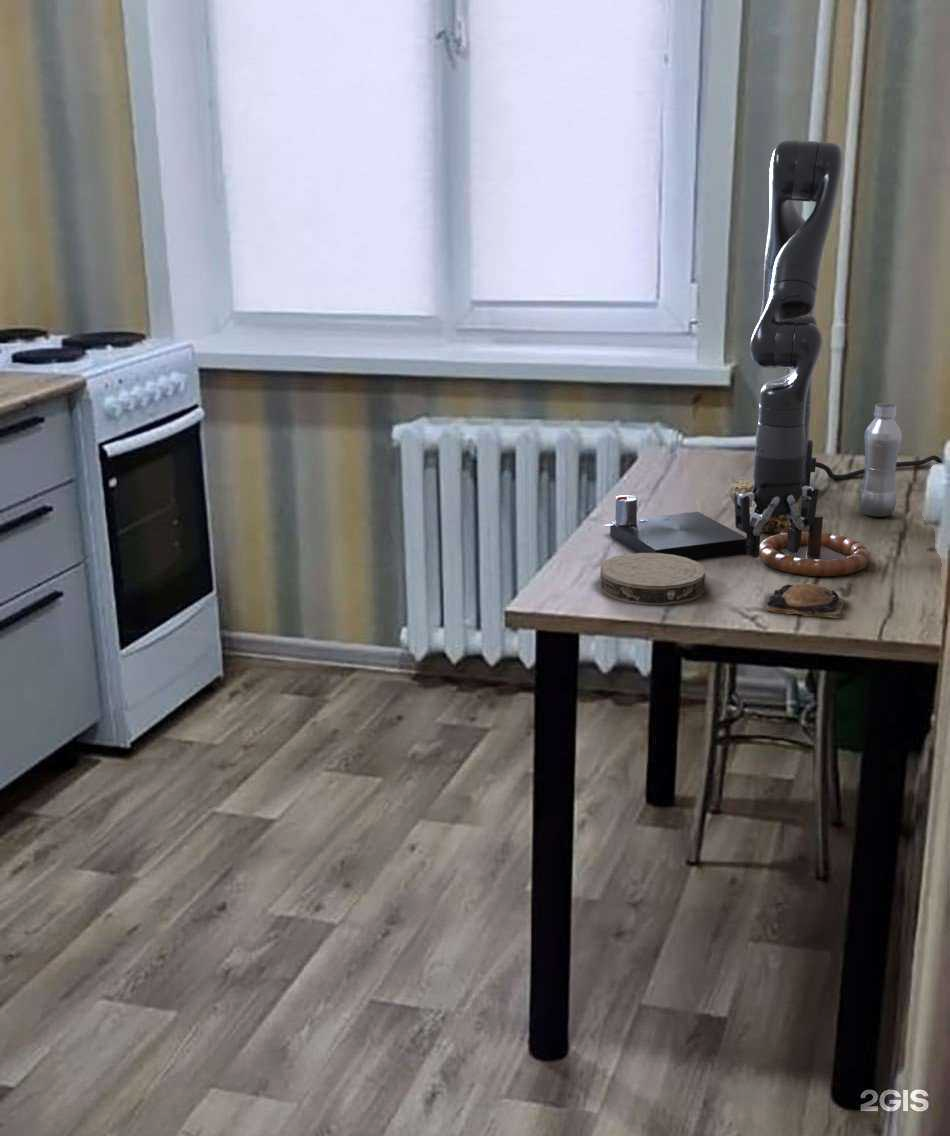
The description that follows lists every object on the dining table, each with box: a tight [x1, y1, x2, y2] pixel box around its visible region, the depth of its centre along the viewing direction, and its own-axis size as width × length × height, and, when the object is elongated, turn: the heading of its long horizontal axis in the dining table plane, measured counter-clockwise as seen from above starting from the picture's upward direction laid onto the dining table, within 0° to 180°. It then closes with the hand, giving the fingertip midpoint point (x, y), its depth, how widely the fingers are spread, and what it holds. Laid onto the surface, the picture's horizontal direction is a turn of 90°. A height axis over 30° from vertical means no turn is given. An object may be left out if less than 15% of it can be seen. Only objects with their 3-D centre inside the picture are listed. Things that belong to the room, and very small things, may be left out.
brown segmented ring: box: [759, 531, 871, 577], centre depth 220 cm, size 17×17×3 cm
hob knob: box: [614, 494, 638, 526], centre depth 232 cm, size 4×4×5 cm
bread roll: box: [765, 582, 846, 619], centre depth 200 cm, size 11×8×4 cm
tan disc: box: [599, 552, 706, 606], centre depth 209 cm, size 16×16×3 cm
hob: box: [604, 511, 748, 561], centre depth 230 cm, size 19×19×3 cm
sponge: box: [729, 478, 802, 534], centre depth 242 cm, size 13×8×20 cm
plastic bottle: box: [858, 402, 903, 518], centre depth 241 cm, size 6×7×20 cm
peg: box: [778, 512, 847, 560], centre depth 219 cm, size 8×8×8 cm
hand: (773, 553), depth 217 cm, fingers open, 6 cm apart
